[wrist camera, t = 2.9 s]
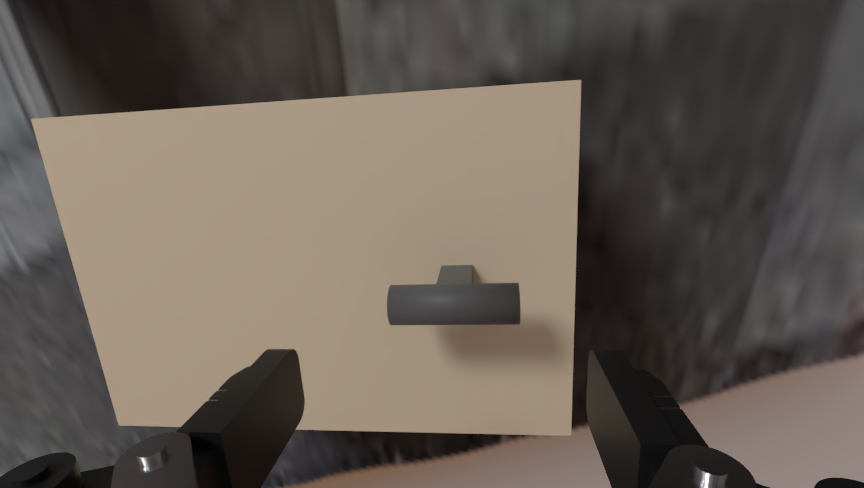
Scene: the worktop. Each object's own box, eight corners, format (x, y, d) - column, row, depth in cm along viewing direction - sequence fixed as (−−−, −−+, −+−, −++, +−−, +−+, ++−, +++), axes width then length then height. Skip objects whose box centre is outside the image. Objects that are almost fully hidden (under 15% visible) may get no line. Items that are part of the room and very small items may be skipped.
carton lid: (578, 81, 18) (606, 68, 14) (568, 427, 22) (588, 496, 18) (43, 119, 21) (-64, 117, 16) (127, 418, 25) (58, 475, 21)
